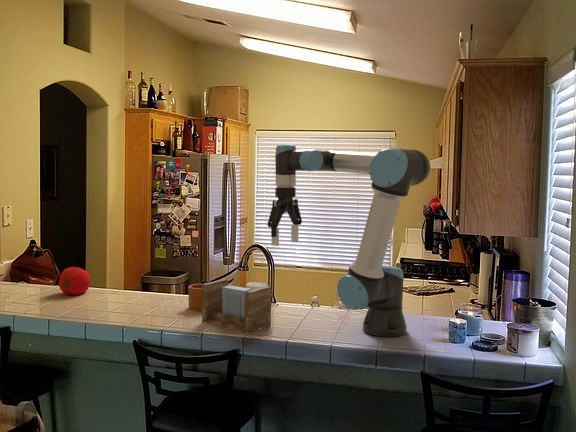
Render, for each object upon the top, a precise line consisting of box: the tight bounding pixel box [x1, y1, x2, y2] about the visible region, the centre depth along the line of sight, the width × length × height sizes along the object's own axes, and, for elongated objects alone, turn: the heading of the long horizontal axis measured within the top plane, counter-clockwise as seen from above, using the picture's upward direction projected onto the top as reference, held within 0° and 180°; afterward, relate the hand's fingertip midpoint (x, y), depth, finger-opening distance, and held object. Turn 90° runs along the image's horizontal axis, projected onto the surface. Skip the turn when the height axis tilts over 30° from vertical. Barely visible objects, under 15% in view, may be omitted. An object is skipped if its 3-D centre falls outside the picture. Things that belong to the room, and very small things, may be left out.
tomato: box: [58, 266, 92, 296], centre depth 254 cm, size 13×13×13 cm
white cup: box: [245, 281, 267, 290], centre depth 232 cm, size 8×8×10 cm
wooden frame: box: [201, 278, 272, 333], centre depth 211 cm, size 22×12×14 cm, turn 56°
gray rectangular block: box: [222, 284, 251, 319], centre depth 211 cm, size 10×4×12 cm, turn 57°
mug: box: [187, 283, 203, 312], centre depth 232 cm, size 9×12×9 cm
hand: (285, 243), depth 219 cm, fingers open, 13 cm apart
